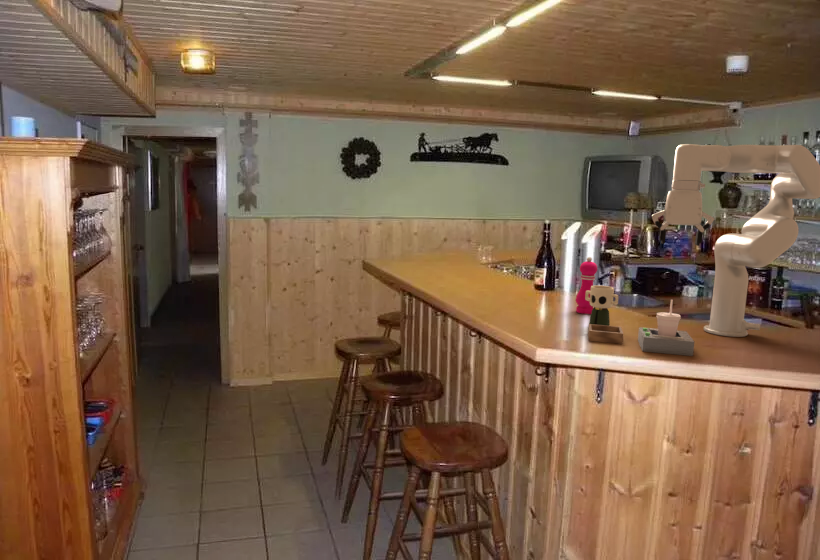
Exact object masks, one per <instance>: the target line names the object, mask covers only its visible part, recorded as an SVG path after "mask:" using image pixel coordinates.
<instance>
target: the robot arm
mask: <svg viewBox="0 0 820 560" xmlns="http://www.w3.org/2000/svg"><path fill="white" fill-rule="evenodd" d="M702 172H726V173H733V174H734V173H737V174H741V173H742V174H746V173H747V174H776V175H775V177H774V178H773V179H772V181H771V184H770V194H769V202H768V204H767V205H765V206H764V207H763V208H762V209H760V210H759V211H758V212H756V213H755V214H754V215H753V216H752V217H751V218H749V219H748V220H747V221H746V222H744V224H743V226H742V228H741V233H735V232H734V233H733V232H732V233H726V234H723V235H721V236H720V237H718V238H717V240H716V241H715V244H714V249H713V250H714V251H713V252H714V261H715V264H714V265H715V268H714V270H715V272H714V273H715V274H714V282H713V288H712V290H713V291H712V299H711V307H710V317H709V324H706V325H704V326H703V330H704V332H707V333H708V334H711V335H716V336H724V337H733V338H736V337H737V338H739V337H740V338H741V337H743V338H744V337H746V336H748V334H749V333H748V331H749V330H753V331H754V330H755V331H760V329H761V324H760V323H754V322H747V321H746V320H745V311H746V305H747V295H748V287H749V274H748V271H747V267H748V268H749V267H750V268H754V269H755V268H757V269H758V268H764V267H767V266H768V265H769V264H771V263H772V262H774V261H775V260H776V259H777V258H778V257H780V256H781V255H782V254H784V253H785V252H786V251H787V250H789V249H790V248H791V247H792V246H793V245H794V243H795V242H796V240H797V238H798V236H799V232H800V231H799V225H798V222H797V221H795V219H794V216H795V210H794V207H793V205H794V204H793V199H798V200H799V199H801V200H802V199H804V200H814V199H815V200H816V199H819V198H820V164H819V162H818V160H817V159H816V157H815V156H814V154H813V153H811V151H810V150H809V149H808V148H806V147H805V146H804V145H800V144H786V145H785V144H784V145H780V144H779V145H769V144H768V145H767V144H735V145H726V146H724V145H721V144H709V145H708V144H707V145H704V144H703V145H701V144H696V143H694V144H691V143H685V144H679V145H678V146H677V147H676V149H675V154H674V165H673V175H672V176H673V177H672V184H671V190H669V191H668V193H667V195H666V200H665V205H664V209H663V210H661V211H658V212H656V213H654V214H652V215H651V219H652V221H653V223H654V224H655V226H656V227H657V228H658V229H659V236H658V237H659V241H660V244H661V245H664V244H666V237H667V231H666V228H668V226H669V225H673V226H674V225H677V226H678V225H679V226H694V227H695V228H696V230H697V231H696V233H695V240H694V245H695V246H698V247H699V246H700V244H702V241H703V235H704V232H705V231H707V229H709V228H710V227H711V226H712V224H713V222H714V221H715V217H713V216H711V215H710V214H708V213H706V212H705V211H703V196H702V195H703V194H702V191H700V190H701V189H705V188H706V184H705V183H702V182H701V179H702V178H701V175H702ZM662 216H663V223H662V224H661V222H660V221H659V217H662ZM703 218H704V219H706V222H705V223H704V224H703V225H702V219H703Z"/></svg>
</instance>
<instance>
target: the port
mask: <svg viewBox="0 0 820 560" xmlns="http://www.w3.org/2000/svg"><path fill="white" fill-rule="evenodd" d="M637 335H638V336H637V341H638V345H639V346H640V349H641V351H642V352H645V353H646V352H648V353H655V354H657V353H658V354H667V355H676V356H677V355H678V356H687V357H688V356H689V357H693V356H694V350H695V341H694V339H693V338H692V337H691V335H690V334H689V332H688V331H687V330H686V331H685V330H677V332H676V336H675V337H672V336H661V335H658V328H655V327H654V328H653V327H652V328H651V327H643V326H642V327H641V326H640V327H638V334H637Z"/></svg>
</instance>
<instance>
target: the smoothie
mask: <svg viewBox="0 0 820 560" xmlns="http://www.w3.org/2000/svg"><path fill="white" fill-rule="evenodd" d="M669 303H670V304H669V305H670V306H669V312H664V311H662V312H661V311H660V312H656V316H655V317H656V318H657V329H658V335H661V336H672V337H675V336H676V332H677V331H678V327H679V322H680V320H681V319H682V317H681V315H680V314H678V313H673V303H674V300H673V299H670V302H669Z"/></svg>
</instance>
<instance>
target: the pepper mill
mask: <svg viewBox="0 0 820 560" xmlns="http://www.w3.org/2000/svg"><path fill="white" fill-rule="evenodd" d="M579 271H580V273H581V274H580V279H581V284H580V288H579V291H578V292H577V293H576V297H575V303H576V305H578V306H576V309H575V310H576V311H575V312H576V313H579V314H582V315H583V314H584V315H591V312H592V310H593V308H594V307H593V306H591V305H590V301H587V300H586V299H585V296H586V291H591V286H594V281H595V280H596V275H595V274H597V272H598V265H597V263H595V262H594V261H593V258H592V257H591V256H588V257H587V258H586V261H584V262H581V264H580V266H579ZM588 298H590V294H588Z"/></svg>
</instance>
